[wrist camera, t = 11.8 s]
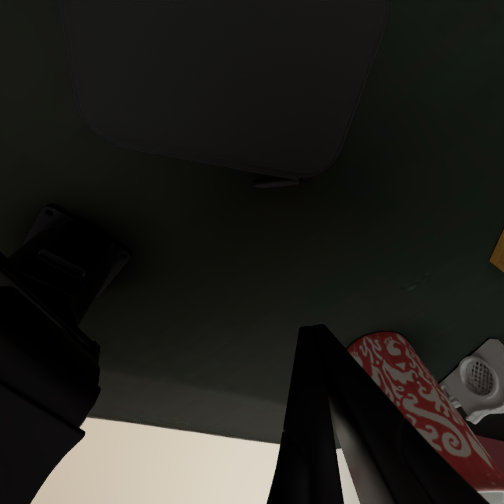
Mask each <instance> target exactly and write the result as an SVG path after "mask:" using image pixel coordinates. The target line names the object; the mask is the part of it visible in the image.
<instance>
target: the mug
mask: <svg viewBox="0 0 504 504" xmlns="http://www.w3.org/2000/svg"><path fill="white" fill-rule="evenodd" d="M347 351H348V352H349V353H350V354H351V355H352V356H353V358H354V359H355V360H356V361H357V362H358V363H359V364H360V366H361V367H362V368H363V369H364V370H365V371H366V372H367V374H368V375H369V376H370V377H371V378H372V379H373V380H374V382H375V383H376V384H377V385H378V386H379V387H380V388H381V389H382V391H383V392H384V393H385V394H386V395H387V396H388V397H389V399H390V400H391V401H392V402H393V403H394V404H395V405H396V407H397V408H398V409H399V410H400V411H401V412H402V413H403V415H404V416H405V418H407V419H408V420H409V421H410V422H411V424H412V425H413V426H414V427H415V428H416V429H417V430H418V431H419V433H420V434H421V435H422V436H423V437H424V438H425V439H426V440H427V441H428V442H429V443H430V445H431V446H432V447H433V448H434V449H435V450H436V451H437V452H438V453H439V454H440V455H441V456H442V457H443V458H444V459H445V460H446V461H447V462H448V463H449V464H450V465H451V466H452V467H453V468H454V469H455V470H456V471H457V472H458V473H459V474H460V475H461V476H462V477H463V478H464V479H465V480H466V481H467V482H468V483H469V484H470V485H471V486H472V487H473V488H474V489H475V490H476V491H477V492H478V493H479V494H481V495H482V496H483V497H484V498H485V499H486V500H487V501H488V502H489V503H490V504H504V475H503V474H502V473H501V471H500V470H499V468H498V467H497V466H496V464H495V463H494V462H493V460H492V459H491V458H490V456H489V454H488V453H487V452H486V450H485V449H484V447H483V446H482V445H481V443H480V442H479V441H478V439H477V438H476V436H475V435H474V433H473V432H472V431H471V429H470V428H469V427H468V425H467V424H466V422H465V421H464V420H463V418H462V417H461V415H460V414H459V413H458V411H457V410H456V408H455V407H454V405H453V404H452V403H451V401H450V400H449V399H448V397H447V396H446V394H445V393H444V391H443V390H442V389H441V387H440V386H439V384H438V383H437V382H436V380H435V379H434V377H433V376H432V375H431V373H430V372H429V370H428V369H427V368H426V366H425V365H424V363H423V362H422V361H421V359H420V358H419V357H418V355H417V354H416V352H415V351H414V349H413V348H412V346H411V345H410V344H409V342H408V341H407V340H406V339H405V338H404V337H403V336H402V335H400V334H398V333H394V332H377V333H372V334H369V335H366V336H364V337H362V338H360V339H358V340H357V341H355V342H354V343H353V344H351V345H350V346H349V348H348V349H347ZM405 418H404V419H405Z"/></svg>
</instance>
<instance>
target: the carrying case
mask: <svg viewBox="0 0 504 504" xmlns="http://www.w3.org/2000/svg"><path fill="white" fill-rule="evenodd" d="M58 3H59V10H60V16H61V22H62V28H63V34H64V40H65V46H66V52H67V58H68V64H69V70H70V76H71V82H72V88H73V94H74V100H75V104H76V106H77V109H78V111H79V113H80V115H81V116H82V118H83V120H84V121H85V122H86V124H87V125H88V126H89V127H90V128H91V130H92V131H94V132H95V133H96V134H97V135H98V136H100V137H101V138H102V139H104V140H106V141H107V142H109V143H112V144H114V145H116V147H117V148H119V149H127V150H133V151H138V152H144V153H149V154H155V155H160V156H166V157H172V158H177V159H183V160H188V161H194V162H199V163H205V164H210V165H216V166H221V167H227V168H232V169H238V170H243V171H249V172H254V173H260V174H265V175H271V176H276V177H272V178H260V179H257V180H254V181H253V183H252V184H253V186H254V187H257V188H272V187H282V186H292V185H298V184H299V182H308V181H310V180H311V179H312V176H315V175H317V174H320V173H321V172H323V171H325V170H326V169H327V168H328V167H329V166H331V165H332V164H333V162H334V161H335V160H336V159H337V157H338V156H339V154H340V152H341V150H342V147H343V144H344V141H345V139H346V136H347V133H348V130H349V128H350V125H351V122H352V120H353V117H354V114H355V111H356V109H357V106H358V103H359V100H360V98H361V95H362V92H363V89H364V87H365V84H366V81H367V79H368V76H369V73H370V70H371V68H372V65H373V62H374V59H375V57H376V54H377V51H378V48H379V46H380V43H381V40H382V37H383V35H384V32H385V29H386V26H387V22H388V16H389V0H58Z"/></svg>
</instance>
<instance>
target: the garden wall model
mask: <svg viewBox="0 0 504 504" xmlns="http://www.w3.org/2000/svg"><path fill="white" fill-rule="evenodd" d="M480 361H481V362H480ZM476 362H479V363H478V365H476ZM480 363H481V364H482V367H480ZM473 365H474V368H473ZM484 365H486V369H484ZM476 366H478V370H477V369H475V368H476ZM480 368H482V372H481V371H479V370H480ZM487 368H488V369H489V370H487ZM472 369H474V372H472ZM483 369H484V370H486V372H485V373H483ZM475 370H476V371H478V374H476V373H475ZM487 371H488V372H489V375H487ZM479 372H480V373H481V376H480V375H479ZM472 373H473V376H472ZM490 373H492V376H493V377H491V376H490ZM483 374H485V378H484V377H483ZM475 375H477V378H476V377H475ZM487 376H488V379H487ZM479 377H481V380H480V379H479ZM490 377H491V378H492V381H490ZM474 378H475V379H477V382H476V381H474ZM483 379H485V382H484V381H482V380H483ZM478 380H479V381H481V384H479V383H478ZM486 380H487V381H488V383H486ZM482 382H483V383H484V386H483V385H482ZM490 382H491V383H492V385H490ZM475 383H477V384H475ZM478 384H479V385H480V388H479V387H478ZM486 384H487V385H488V387H486ZM439 386H440V387H441V389H442V390H443V391H444V393H446V392H447V393H446V394H447V395H446V396H447V397H448V399H449V400H450V401H451V403H452V404H453V405H454V407H455V408H457V407H459V406H462V407H463V409H464V410H465V412H466V413H467V415H468V416H467V417H466V420H468V421H471V422H472V423H473V424H477V423H478V422H479V421H480V420H481V419H482V418H483V417H484V416H486V415H488V414H493V413H504V345H503V344H502V343H501V342H500V341H499V340H498V339H489V340H488V341H486V342H485V343H484V344H483V345H482V346H481V347H480V348H479V349H478V350H476V351H475V352H474V353H473V354H472V355H471V356H469V357H465V358H464V359H462V361H461V362H460V363H459V367H458V368H456V369H455V370H454V371H453V372H452V373H451V374H450V375H449V376H448V377H446V378H445V379H444V380H443V381H442V382H441V383H440V384H439ZM482 386H483V387H484V390H482ZM489 386H491V387H492V389H489ZM486 389H487V392H486V391H485V390H486ZM481 390H482V391H484V393H483V392H482V391H481ZM489 390H490V391H491V392H490V393H489ZM485 393H487V395H486V394H485ZM448 394H449V395H448Z"/></svg>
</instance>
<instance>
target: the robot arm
mask: <svg viewBox="0 0 504 504" xmlns="http://www.w3.org/2000/svg"><path fill="white" fill-rule="evenodd" d="M49 210H51V211H52V212H53V213H54V214H53V213H51V212H50V211H49ZM122 253H125V254H126V255H123V254H122ZM131 255H132V252H131V251H130V250H129V249H128V248H126V247H124V246H123V245H121V244H119V243H118V242H116V241H114V240H113V239H111V238H109V237H108V236H106V235H104V234H102V233H101V232H99V231H97V230H96V229H94V228H92V227H91V226H89V225H87V224H86V223H84V222H82V221H81V220H79V219H77V218H75V217H74V216H72V215H70V214H69V213H67V212H65V211H64V210H62V209H60V208H59V207H57V206H55V205H53V204H48V205H46V206H45V207H43V208H42V210H41V212H40V214H39V215H38V217H37V219H36V221H35V223H34V224H33V226H32V228H31V230H30V232H29V234H28V235H27V237H26V239H25V241H24V243H23V244H22V246H21V247H20V248H19V249H18V250H17V251H15V252H14V253H13V254H12V255H11V256H9V257H8V258H6V257H5V256H4V255H3V254H2V253H1V252H0V504H30V503H31V502H32V500H33V498H34V497H35V495H36V494H37V492H38V490H39V489H40V487H41V486H42V484H43V483H44V481H45V480H46V478H47V477H48V476H49V474H50V473H51V472H52V470H53V469H54V468H55V467H56V465H57V464H58V463H59V462H60V461H61V459H62V458H63V457H64V456H65V455H66V454H67V453H68V452H69V451H70V450H71V449H72V448H73V447H74V446H75V445H76V444H77V443H78V442H79V441H80V440H81V439H82V438H83V437H84V436H85V431H83V430H82V429H80V426H81V425H82V423H83V422H84V421H85V419H86V418H87V416H88V414H89V413H90V411H91V410H92V408H93V407H94V405H95V403H96V400H97V398H98V396H99V393H100V390H101V388H100V387H99V386H98V383H99V374H100V368H99V365H98V361H99V353H100V345H98V344H97V343H96V342H95V341H92V340H91V339H90V338H89V337H88V336H87V335H85V334H84V333H83V332H82V331H81V330H80V329H79V328H78V327H77V326H78V325H79V323H80V322H81V320H82V318H83V317H84V315H85V313H86V312H87V310H88V309H89V307H90V305H91V304H92V302H93V301H94V299H95V298H97V297H98V296H99V295H100V294H101V293H102V292H103V290H104V289H105V288H106V287H107V286H108V284H109V283H110V282H111V281H112V280H113V278H114V277H115V276H116V275H117V274H118V272H119V271H120V270H121V269H122V268H123V266H124V265H125V264H126V263H127V262H128V260H129V259H130V257H131ZM331 418H332V420H331ZM404 418H405V416H404V415H403V413H402V412H401V411H400V410H399V409H398V408H397V407H396V405H395V404H394V403H393V402H392V401H391V400H390V399H389V397H388V396H387V395H386V394H385V393H384V392H383V391H382V389H381V388H380V387H379V386H378V385H377V384H376V383H375V382H374V380H373V379H372V378H371V377H370V376H369V375H368V374H367V372H366V371H365V370H364V369H363V368H362V367H361V366H360V364H359V363H358V362H357V361H356V360H355V359H354V358H353V356H352V355H351V354H350V353H349V352H348V351H347V350H346V348H345V347H344V346H343V345H342V344H341V343H340V342H339V341H338V339H337V338H336V337H335V336H334V335H333V334H332V333H331V331H330V330H329V329H328V328H327V327H326V326H325V325H324V324H319V325H313V326H312V327H311V326H303V327H300V329H299V334H298V340H297V346H296V352H295V359H294V365H293V371H292V377H291V383H290V389H289V396H288V402H287V408H286V414H285V420H284V426H283V432H282V438H281V444H280V450H279V455H278V460H277V465H276V470H275V474H274V478H273V482H272V486H271V489H270V493H269V497H268V500H267V504H344V501H343V494H342V488H341V481H340V474H339V467H338V461H337V453H336V447H335V440H334V433H333V426H332V421H333V424H334V427H335V430H336V433H337V436H338V439H339V442H340V445H341V448H342V451H343V454H344V457H345V459H346V462H347V465H348V468H349V471H350V474H351V477H352V480H353V483H354V486H355V489H356V492H357V495H358V498H359V501H360V504H490V503H489V502H488V501H487V500H486V499H485V498H484V497H483V496H482V495H481V494H479V493H478V492H477V491H476V490H475V489H474V488H473V487H472V486H471V485H470V484H469V483H468V482H467V481H466V480H465V479H464V478H463V477H462V476H461V475H460V474H459V473H458V472H457V471H456V470H455V469H454V468H453V467H452V466H451V465H450V464H449V463H448V462H447V461H446V460H445V459H444V458H443V457H442V456H441V455H440V454H439V453H438V452H437V451H436V450H435V449H434V448H433V447H432V446H431V445H430V443H429V442H428V441H427V440H426V439H425V438H424V437H423V436H422V435H421V434H420V433H419V431H418V430H417V429H416V428H415V427H414V426H413V425H412V424H411V422H410V421H409V420H408V419H407V418H405V419H404Z"/></svg>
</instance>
